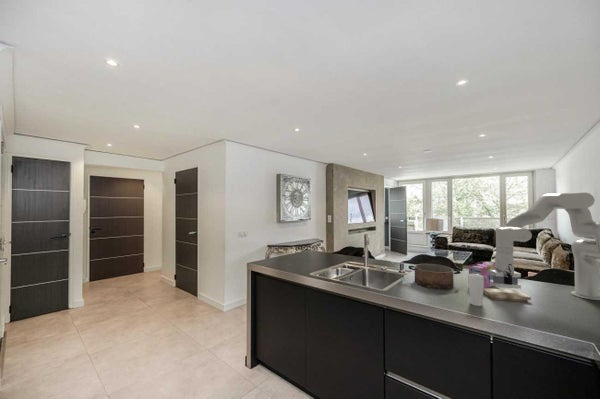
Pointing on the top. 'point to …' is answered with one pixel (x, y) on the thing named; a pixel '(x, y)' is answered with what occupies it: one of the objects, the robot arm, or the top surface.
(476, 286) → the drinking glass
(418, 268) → the cooking pot
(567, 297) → the top surface
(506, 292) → the wavy cream panel
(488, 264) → the gum box
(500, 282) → the block
